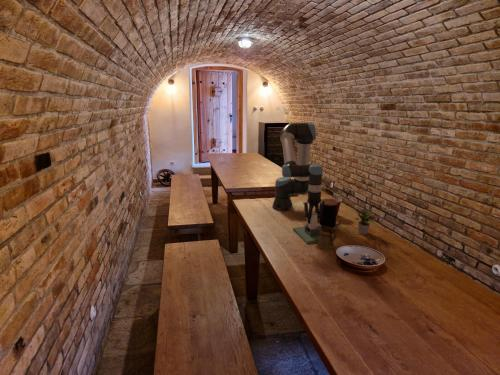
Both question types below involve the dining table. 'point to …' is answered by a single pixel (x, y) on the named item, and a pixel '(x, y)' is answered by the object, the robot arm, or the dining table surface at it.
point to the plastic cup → (337, 203)
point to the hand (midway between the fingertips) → (312, 227)
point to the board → (308, 233)
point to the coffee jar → (329, 213)
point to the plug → (314, 220)
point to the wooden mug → (327, 237)
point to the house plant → (364, 221)
